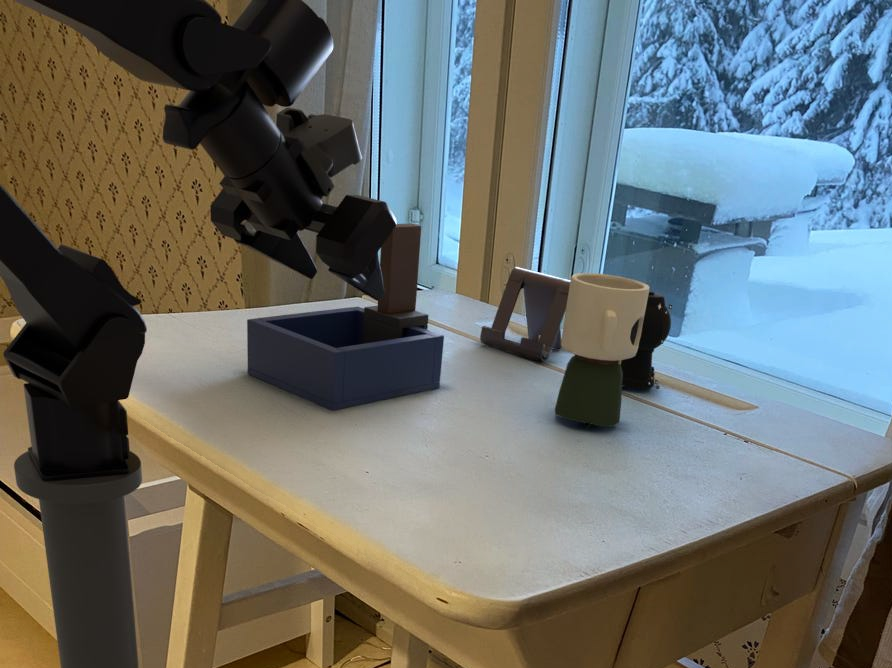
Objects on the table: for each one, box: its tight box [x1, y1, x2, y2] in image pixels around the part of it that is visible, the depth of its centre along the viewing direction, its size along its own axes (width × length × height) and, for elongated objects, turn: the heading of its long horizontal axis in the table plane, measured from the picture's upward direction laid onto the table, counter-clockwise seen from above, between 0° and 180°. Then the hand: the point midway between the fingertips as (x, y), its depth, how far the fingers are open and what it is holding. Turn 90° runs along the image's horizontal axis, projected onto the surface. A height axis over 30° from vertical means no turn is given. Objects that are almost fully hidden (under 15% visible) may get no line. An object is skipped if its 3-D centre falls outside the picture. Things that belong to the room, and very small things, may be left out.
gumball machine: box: [621, 290, 673, 390], centre depth 103 cm, size 7×6×10 cm
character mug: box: [554, 272, 650, 428], centre depth 89 cm, size 11×7×13 cm, turn 179°
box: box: [246, 306, 445, 411], centre depth 94 cm, size 14×12×5 cm
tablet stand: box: [479, 266, 571, 363], centre depth 112 cm, size 9×8×8 cm
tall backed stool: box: [362, 222, 429, 344], centre depth 95 cm, size 4×5×12 cm
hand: (346, 285), depth 90 cm, fingers open, 9 cm apart
